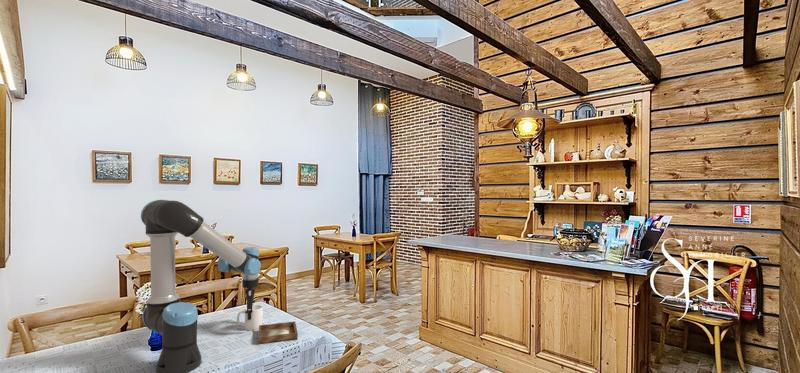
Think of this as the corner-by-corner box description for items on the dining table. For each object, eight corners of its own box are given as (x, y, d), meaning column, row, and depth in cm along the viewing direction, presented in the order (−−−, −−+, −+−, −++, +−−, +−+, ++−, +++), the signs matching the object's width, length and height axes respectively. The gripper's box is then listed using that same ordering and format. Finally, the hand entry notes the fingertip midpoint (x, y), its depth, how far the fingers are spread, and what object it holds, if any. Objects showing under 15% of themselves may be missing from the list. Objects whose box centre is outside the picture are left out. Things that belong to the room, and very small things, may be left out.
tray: (258, 344, 164) (258, 337, 164) (259, 331, 179) (259, 325, 179) (297, 339, 170) (297, 333, 170) (295, 327, 185) (295, 321, 185)
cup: (261, 330, 181) (261, 309, 181) (235, 332, 178) (235, 311, 178) (263, 324, 189) (263, 304, 189) (238, 326, 186) (238, 306, 186)
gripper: (257, 284, 173) (257, 329, 173) (259, 272, 197) (258, 312, 197) (240, 285, 171) (240, 331, 171) (243, 273, 194) (243, 313, 194)
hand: (250, 320), depth 184 cm, fingers open, 13 cm apart
